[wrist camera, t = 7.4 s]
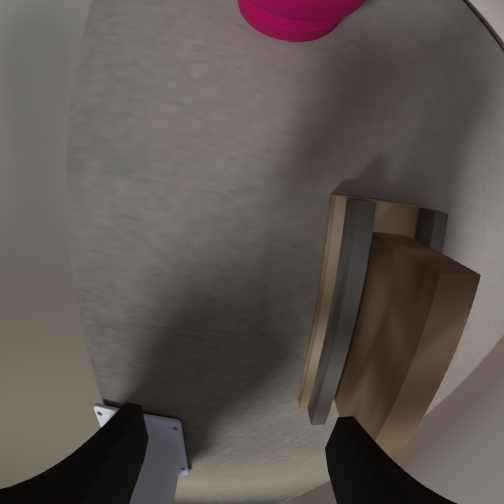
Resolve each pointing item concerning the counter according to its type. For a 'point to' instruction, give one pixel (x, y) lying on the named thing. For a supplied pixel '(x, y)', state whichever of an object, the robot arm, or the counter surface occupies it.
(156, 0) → the counter surface
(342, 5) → the pepper mill
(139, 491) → the robot arm
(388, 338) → the door panel
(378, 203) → the track board
